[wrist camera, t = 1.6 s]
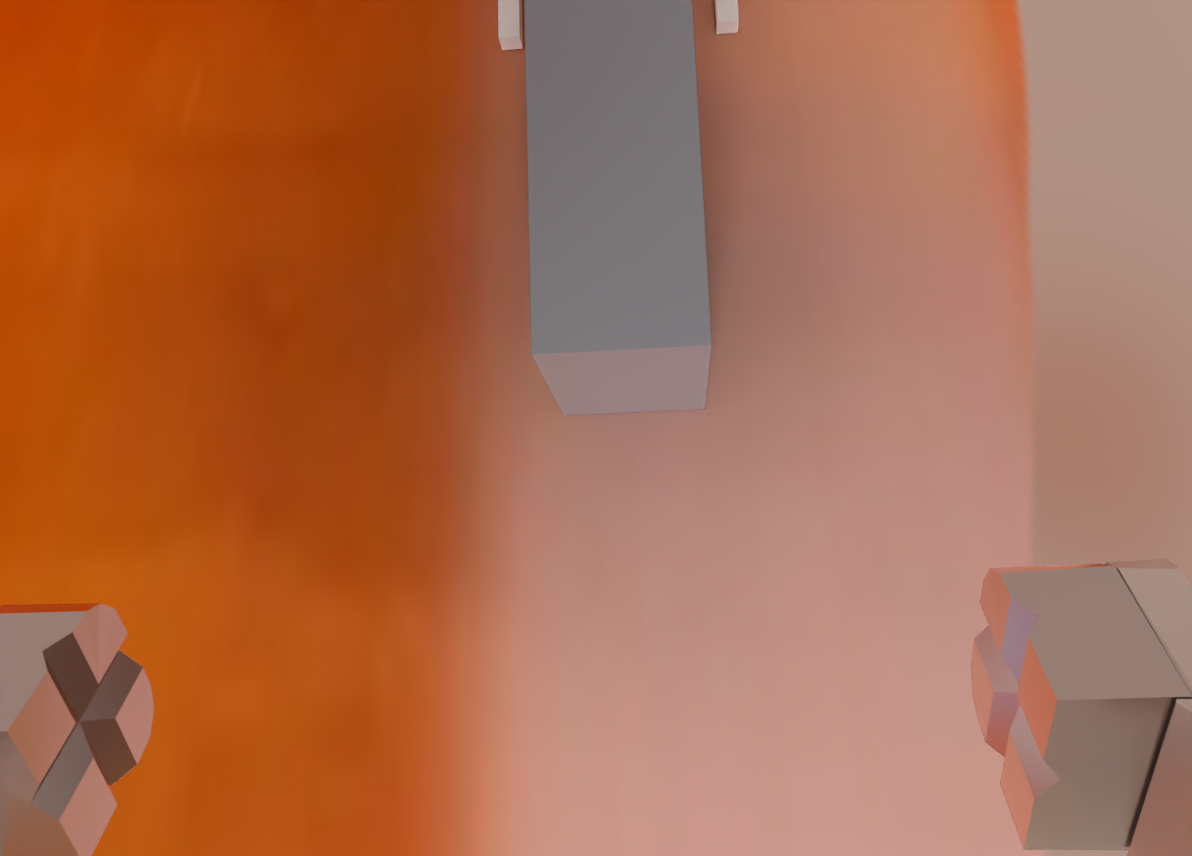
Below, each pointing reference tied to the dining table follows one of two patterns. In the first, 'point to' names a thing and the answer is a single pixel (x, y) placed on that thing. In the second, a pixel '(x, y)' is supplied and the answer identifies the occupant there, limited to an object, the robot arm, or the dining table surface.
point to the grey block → (616, 206)
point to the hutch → (512, 21)
